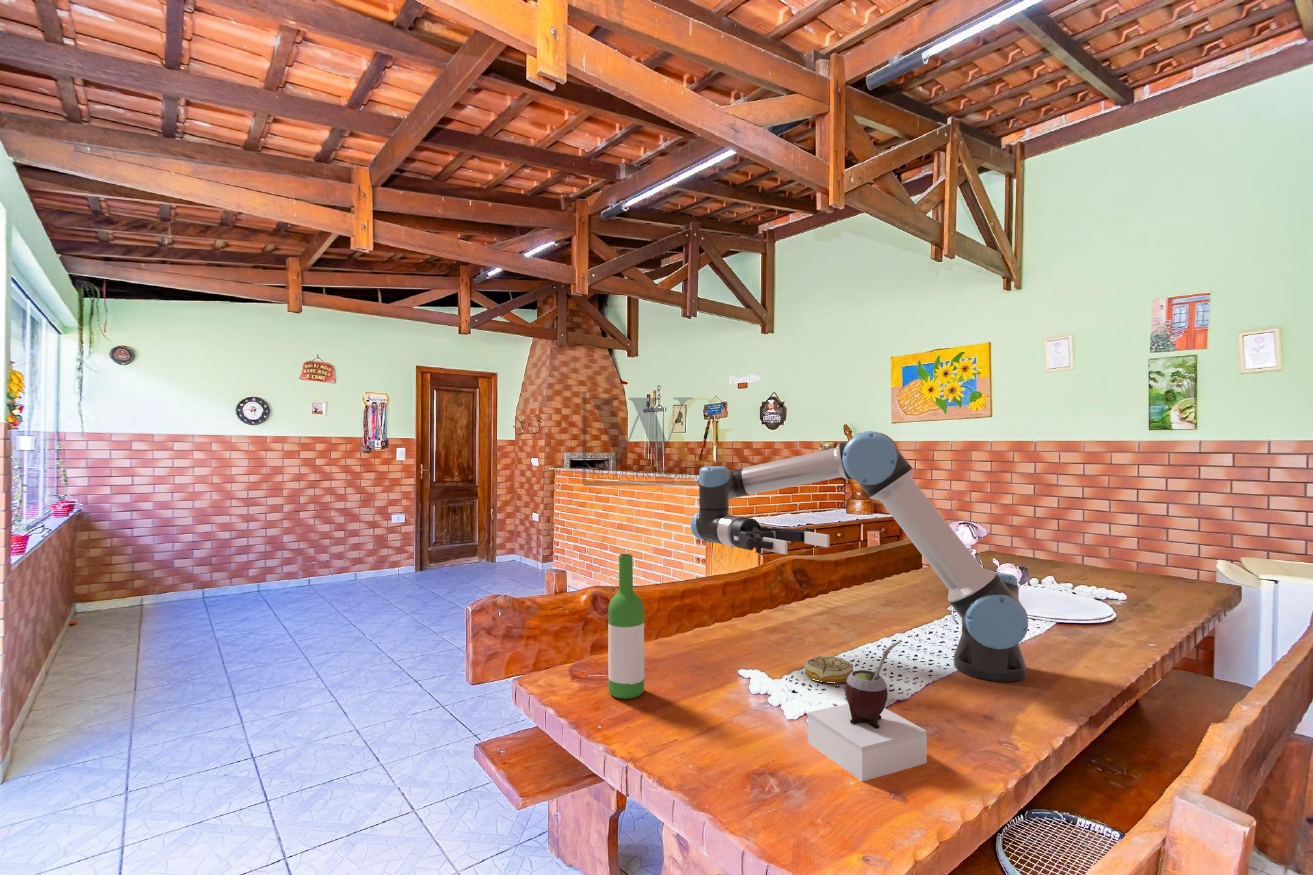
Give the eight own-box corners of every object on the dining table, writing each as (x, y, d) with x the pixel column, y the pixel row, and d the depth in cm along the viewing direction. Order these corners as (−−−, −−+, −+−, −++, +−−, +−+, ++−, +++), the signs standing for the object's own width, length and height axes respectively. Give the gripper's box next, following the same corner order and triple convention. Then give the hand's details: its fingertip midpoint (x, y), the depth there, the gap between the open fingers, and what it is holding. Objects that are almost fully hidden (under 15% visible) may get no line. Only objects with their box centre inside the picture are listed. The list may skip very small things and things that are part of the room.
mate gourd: (836, 714, 113) (838, 631, 113) (872, 708, 116) (874, 627, 115) (863, 733, 106) (865, 645, 106) (901, 726, 109) (903, 640, 108)
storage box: (808, 745, 114) (807, 712, 114) (868, 730, 120) (868, 699, 120) (861, 784, 101) (861, 747, 101) (926, 765, 107) (926, 730, 107)
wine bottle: (610, 685, 140) (609, 551, 140) (645, 686, 140) (644, 551, 140) (606, 700, 133) (605, 558, 133) (643, 700, 132) (642, 558, 132)
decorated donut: (795, 672, 148) (795, 656, 148) (834, 666, 152) (834, 650, 152) (822, 688, 139) (822, 671, 139) (862, 682, 142) (862, 665, 142)
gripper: (775, 542, 161) (844, 554, 144) (700, 553, 147) (767, 569, 129) (775, 512, 161) (844, 522, 144) (700, 521, 147) (766, 532, 129)
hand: (807, 544), depth 137 cm, fingers open, 13 cm apart
